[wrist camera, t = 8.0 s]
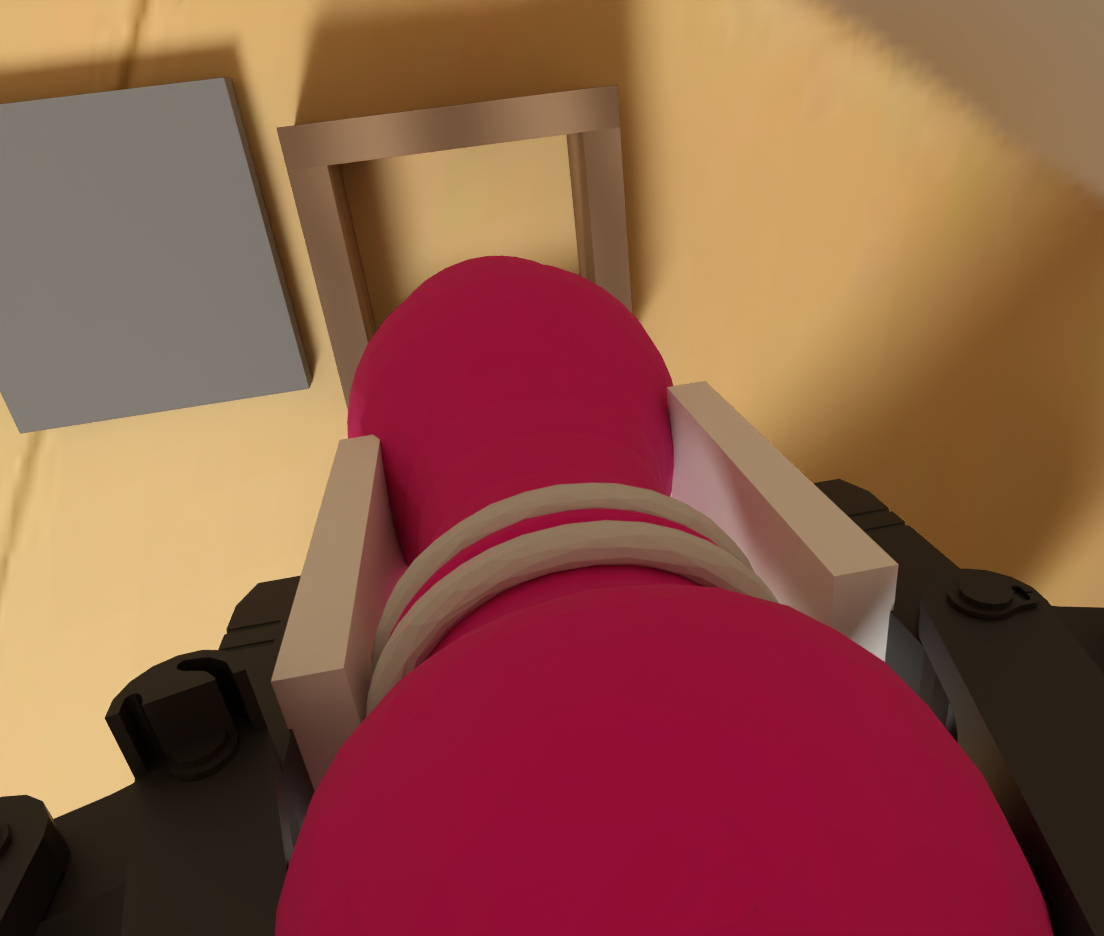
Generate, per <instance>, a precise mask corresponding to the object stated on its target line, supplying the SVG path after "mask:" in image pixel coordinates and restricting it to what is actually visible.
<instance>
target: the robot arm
mask: <svg viewBox="0 0 1104 936" xmlns="http://www.w3.org/2000/svg"><path fill="white" fill-rule="evenodd" d="M667 399H668V412H669V418H670V425H671V432H672V440H673V449H674V471H673V481H672V498H674V499H676V500H679V501H681V502H684V503H686V504H687V505H689V506H691V507H692V508H694V509H696V510H697V511H699V512H701V513H703V514H704V515H706V516H707V517H709V518H710V519H711V520H712V521H714V522H715V523H716V524H717V525H718V526H719V527H720V528H721V529H722V530H723V531H724V532H725V533H726V534H727V535H728V536H729V537H730V538H731V539H732V540H733V541H734V542H735V543H736V544H737V546H738V547H739V548H740V549H741V551H742V552H743V553H744V554H745V556H746V557H747V558H748V560H749V562H750V564H751V566H752V568H753V570H754V572H755V574H756V575H758V576H759V577H760V578H761V579H762V581H763V582H764V583H765V584H766V585H767V587H768V588H769V589H770V590H771V592H772V593H773V595H774V596H775V598H776V599H777V601H778V602H779V603H780V604H784V605H787V606H790V607H792V608H794V609H796V610H798V611H800V612H802V613H804V614H806V615H808V616H810V617H811V618H813V619H815V620H817V621H819V622H821V623H823V624H825V625H827V626H829V627H831V628H833V629H835V630H837V631H839V632H840V633H842V634H843V635H845V636H846V637H848V638H849V639H851V640H852V641H854V642H855V643H857V644H858V645H860V646H861V647H863V648H865V649H866V650H868V651H869V652H871V653H872V654H874V655H875V656H877V657H878V658H880V659H881V660H883V661H884V662H885V663H886V664H887V665H888V666H889V667H890V668H891V669H892V670H893V671H894V672H895V673H896V674H897V675H898V676H899V677H900V678H901V679H902V680H903V681H904V682H905V683H906V684H907V685H908V686H909V687H910V688H911V689H912V690H913V691H914V692H915V693H916V694H917V695H918V696H919V697H920V698H921V699H922V700H923V701H924V702H925V703H926V704H927V705H928V706H929V708H930V709H931V710H932V711H933V713H934V714H935V715H936V717H937V718H938V719H939V720H940V722H941V723H942V724H943V725H944V727H945V728H946V729H947V730H948V732H949V733H950V734H951V735H952V737H953V738H954V739H955V740H956V742H957V743H958V744H959V746H960V747H961V748H962V749H963V751H964V752H965V753H966V754H967V756H968V757H969V758H970V759H971V761H972V762H973V763H974V764H975V766H976V767H977V768H978V769H979V771H980V772H981V773H982V775H983V776H984V778H985V780H986V782H987V784H988V786H989V788H990V789H991V791H992V793H993V795H994V797H995V799H996V801H997V803H998V804H999V806H1000V808H1001V810H1002V812H1003V814H1004V816H1005V818H1006V820H1007V822H1008V824H1009V826H1010V828H1011V830H1012V832H1013V834H1014V836H1015V838H1016V840H1017V842H1018V844H1019V846H1020V848H1021V850H1022V852H1023V854H1024V856H1025V858H1026V860H1027V862H1028V864H1029V866H1030V868H1031V871H1032V873H1033V875H1034V877H1035V880H1036V882H1037V884H1038V886H1039V889H1040V891H1041V893H1042V895H1043V898H1044V900H1045V902H1046V905H1047V909H1048V913H1049V917H1050V921H1051V925H1052V929H1053V933H1054V936H1104V608H1094V607H1058V606H1051V605H1050V604H1049V602H1048V601H1047V600H1046V599H1045V598H1044V597H1043V596H1041V595H1040V594H1039V593H1038V592H1037V591H1036V590H1035V589H1034V588H1032V587H1031V586H1029V585H1027V584H1025V583H1022V582H1020V581H1018V580H1016V579H1014V578H1012V577H1010V576H1006V575H1002V574H998V573H995V572H991V571H987V570H975V569H960V568H959V567H957V566H956V565H955V564H954V563H953V562H951V561H950V560H949V559H948V558H947V557H946V556H944V555H943V554H942V553H941V552H940V551H938V550H937V549H936V548H935V547H934V546H933V545H931V544H930V543H929V542H928V541H927V540H925V539H924V538H923V537H922V536H921V535H920V534H918V533H917V532H916V531H915V530H914V529H912V528H911V527H910V526H905V522H904V521H903V520H902V519H901V518H899V517H898V516H897V515H896V514H895V513H894V512H889V510H888V507H887V506H885V505H884V504H883V503H882V502H881V501H879V500H878V499H877V498H876V497H875V496H874V495H872V494H871V493H870V492H869V491H867V490H864V489H862V488H860V487H857V486H855V485H852V484H850V483H848V482H845V481H843V480H840V479H835V480H830V481H824V482H818V483H812V482H811V481H810V480H809V479H808V478H807V477H806V476H805V475H804V474H803V473H802V472H801V471H800V470H799V469H797V468H796V467H795V466H794V465H793V464H792V463H791V462H790V461H789V460H788V459H787V458H786V457H785V456H784V455H783V454H782V453H781V452H780V451H779V450H777V449H776V448H775V447H774V446H773V445H772V444H771V443H770V442H769V441H768V440H767V439H766V438H765V437H764V436H763V435H762V434H761V433H760V432H758V431H757V430H756V429H755V428H754V427H753V426H752V425H751V424H750V423H749V422H748V421H747V420H746V419H745V418H744V417H743V416H742V415H741V414H740V413H738V412H737V411H736V410H735V409H734V408H733V407H732V406H731V405H730V404H729V403H728V402H727V401H726V400H725V399H724V398H723V397H722V396H721V395H720V394H718V393H717V392H716V391H715V390H714V389H713V388H712V387H711V386H710V385H709V384H708V383H707V382H706V381H702V382H696V383H690V384H684V385H677V386H671V387H667ZM408 568H409V567H408V565H407V564H406V563H405V560H404V557H403V554H402V551H401V548H400V545H399V542H398V539H397V536H396V532H395V527H394V522H393V518H392V513H391V509H390V503H389V497H388V491H387V485H386V480H385V474H384V467H383V461H382V452H381V444H380V439H378V438H377V437H376V436H374V435H368V436H362V437H355V438H349V439H343V440H340V441H339V444H338V448H337V451H336V455H335V458H334V462H333V465H332V469H331V472H330V476H329V479H328V483H327V486H326V490H325V493H324V497H323V500H322V504H321V507H320V511H319V514H318V518H317V521H316V525H315V528H314V532H313V535H312V539H311V542H310V546H309V549H308V553H307V556H306V560H305V563H304V567H303V570H302V574H301V576H296V577H291V578H285V579H279V580H274V581H268V582H262V583H258V584H257V585H256V586H255V587H254V588H253V589H252V590H251V591H250V592H249V593H248V594H247V595H246V596H245V597H244V598H243V599H242V600H241V601H240V602H239V603H238V604H237V605H236V607H235V610H234V612H233V615H232V617H231V620H230V622H229V625H228V627H227V634H225V635H224V637H223V640H222V642H221V645H220V647H219V650H200V651H196V652H191V653H187V654H183V655H178V656H176V657H174V658H171V659H169V660H167V661H164V662H162V663H160V664H158V665H155V666H153V667H151V668H150V669H148V670H147V671H145V672H144V673H142V674H141V675H140V676H138V677H137V678H135V679H134V680H132V681H131V682H129V683H128V684H127V686H126V687H125V688H124V689H123V690H122V691H121V692H120V693H119V694H118V695H117V696H116V697H115V698H114V699H113V701H112V703H111V705H110V707H109V710H108V712H107V714H106V716H105V720H106V722H107V724H108V726H109V728H110V730H111V732H112V734H113V736H114V737H115V739H116V741H117V743H118V745H119V747H120V749H121V751H122V753H123V755H124V757H125V759H126V761H127V763H128V765H129V767H130V769H131V771H132V773H133V775H134V777H135V782H134V783H133V784H131V785H129V786H127V787H125V788H123V789H121V790H119V791H117V792H115V793H113V794H111V795H109V796H107V797H104V798H102V799H100V800H97V801H95V802H93V803H90V804H88V805H86V806H83V807H81V808H79V809H76V810H74V811H71V812H69V813H67V814H64V815H62V816H60V817H57V818H55V819H53V818H52V816H51V815H50V813H49V811H48V809H47V808H46V806H45V804H44V803H43V801H40V800H38V799H35V798H33V797H31V796H28V795H19V796H5V797H0V936H275V926H276V911H277V907H278V903H279V900H280V896H281V893H282V889H283V885H284V882H285V878H286V874H287V871H288V867H289V863H290V859H291V856H292V853H293V850H294V847H295V844H296V842H297V839H298V836H299V833H300V830H301V827H302V824H303V822H304V819H305V816H306V813H307V810H308V807H309V804H310V802H311V799H312V796H313V794H314V792H315V790H316V789H317V787H318V785H319V783H320V782H321V780H322V778H323V776H324V775H325V773H326V771H327V770H328V768H329V766H330V764H331V763H332V761H333V759H334V757H335V756H336V754H337V752H338V750H339V749H340V747H341V745H342V744H343V743H344V742H345V741H346V739H347V738H348V737H349V736H350V735H351V734H352V733H353V732H354V730H355V729H356V728H357V727H358V726H359V725H360V724H361V723H362V721H363V720H364V719H365V718H366V705H367V697H368V692H369V688H370V684H371V681H372V662H371V656H372V651H373V646H374V641H375V636H376V631H377V628H378V625H379V623H380V620H381V617H382V614H383V611H384V609H385V606H386V603H387V601H388V599H389V597H390V596H391V594H392V592H393V590H394V588H395V586H396V584H397V582H398V581H399V580H400V578H401V577H402V576H403V574H404V573H405V572H406V570H407V569H408Z"/></svg>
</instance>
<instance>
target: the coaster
mask: <svg viewBox="0 0 1104 936" xmlns="http://www.w3.org/2000/svg"><path fill="white" fill-rule="evenodd" d="M312 381H313V380H312V376H311V372H310V369H309V365H308V361H307V357H306V354H305V350H304V346H303V343H302V339H301V335H300V332H299V328H298V324H297V321H296V317H295V313H294V309H293V306H292V302H291V298H290V295H289V291H288V287H287V284H286V280H285V276H284V273H283V269H282V265H281V261H280V258H279V254H278V250H277V247H276V243H275V239H274V236H273V232H272V228H271V224H270V221H269V217H268V213H267V210H266V206H265V202H264V199H263V195H262V191H261V188H260V184H259V180H258V176H257V173H256V169H255V165H254V162H253V158H252V154H251V151H250V147H249V143H248V140H247V136H246V132H245V128H244V125H243V121H242V117H241V114H240V110H239V106H238V103H237V99H236V95H235V92H234V88H233V84H232V80H231V79H229V78H224V77H223V78H215V79H207V80H198V81H190V82H182V83H173V84H165V85H157V86H148V87H140V88H132V89H123V90H115V91H106V92H98V93H90V94H81V95H73V96H65V97H56V98H48V99H40V100H31V101H23V102H15V103H6V104H0V392H1V394H2V396H3V398H4V400H5V402H6V405H7V407H8V409H9V411H10V413H11V415H12V417H13V419H14V422H15V424H16V426H17V428H18V430H19V432H20V433H27V432H33V431H40V430H46V429H53V428H59V427H65V426H72V425H78V424H85V423H91V422H98V421H104V420H110V419H117V418H123V417H130V416H136V415H143V414H149V413H155V412H162V411H168V410H175V409H181V408H188V407H194V406H200V405H207V404H213V403H220V402H226V401H233V400H239V399H245V398H252V397H258V396H265V395H271V394H278V393H284V392H290V391H297V390H303V389H309V388H310V385H311V383H312Z"/></svg>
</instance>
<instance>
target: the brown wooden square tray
mask: <svg viewBox="0 0 1104 936" xmlns="http://www.w3.org/2000/svg"><path fill="white" fill-rule="evenodd" d="M277 132H278V136H279V140H280V144H281V148H282V152H283V155H284V159H285V163H286V167H287V171H288V175H289V179H290V183H291V187H292V191H293V195H294V199H295V203H296V207H297V211H298V215H299V219H300V223H301V227H302V231H303V234H304V238H305V242H306V246H307V250H308V254H309V258H310V262H311V266H312V270H313V274H314V278H315V282H316V286H317V290H318V294H319V298H320V302H321V306H322V310H323V313H324V317H325V321H326V325H327V329H328V333H329V337H330V341H331V345H332V349H333V353H334V357H335V361H336V365H337V369H338V373H339V377H340V381H341V385H342V388H343V392H344V396H345V400H346V404H347V408H348V406H349V394H350V390H351V386H352V382H353V378H354V374H355V371H356V368H357V366H358V364H359V362H360V360H361V357H362V355H363V353H364V351H365V349H366V346H367V344H368V342H369V341H370V340H371V338H372V337H373V336H374V334H375V333H376V332H377V330H376V326H375V321H374V317H373V312H372V308H371V303H370V299H369V294H368V290H367V285H366V281H365V276H364V272H363V268H362V263H361V259H360V254H359V250H358V245H357V241H356V236H355V232H354V227H353V223H352V218H351V214H350V209H349V205H348V200H347V196H346V191H345V187H344V182H343V178H342V174H341V169H340V165H339V164H343V163H350V162H358V161H365V160H373V159H381V158H388V157H396V156H404V155H411V154H419V153H426V152H434V151H442V150H449V149H457V148H465V147H472V146H480V145H488V144H495V143H503V142H510V141H518V140H526V139H533V138H541V137H549V136H556V135H564V134H567V144H568V155H569V165H570V176H571V186H572V197H573V207H574V217H575V228H576V238H577V249H578V259H579V270H580V276H581V277H583V278H585V279H587V280H589V281H591V282H593V283H595V284H597V285H598V286H600V287H602V288H603V289H605V290H606V291H607V292H609V293H610V294H611V295H612V296H614V297H615V298H616V299H618V300H619V301H620V302H622V303H623V305H624V306H625V307H626V308H627V309H628V310H629V311H630V312H631V313H632V301H631V286H630V270H629V255H628V240H627V225H626V210H625V195H624V180H623V165H622V150H621V135H620V120H619V105H618V90H617V85H611V86H603V87H595V88H588V89H580V90H572V91H564V92H556V93H548V94H540V95H532V96H524V97H516V98H508V99H500V100H492V101H484V102H477V103H469V104H461V105H453V106H445V107H437V108H429V109H421V110H413V111H405V112H397V113H389V114H381V115H373V116H366V117H358V118H350V119H342V120H334V121H326V122H318V123H310V124H302V125H294V126H286V127H278V128H277Z"/></svg>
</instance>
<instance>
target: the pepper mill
mask: <svg viewBox="0 0 1104 936" xmlns="http://www.w3.org/2000/svg"><path fill="white" fill-rule="evenodd" d="M671 386H673V383H672V379H671V376H670V374H669V372H668V369H667V367H666V365H665V362H664V360H663V358H662V356H661V354H660V353H659V351H658V349H657V348H656V346H655V345H654V343H653V342H652V340H651V339H650V337H649V336H648V334H647V333H646V331H645V330H644V328H643V327H642V325H641V324H640V322H639V321H638V319H637V318H636V317H635V316H634V315H633V314H632V313H631V312H630V311H629V310H628V309H627V308H626V307H625V306H624V305H623V303H622V302H620V301H619V300H618V299H616V298H615V297H614V296H612V295H611V294H610V293H609V292H607V291H606V290H605V289H603V288H602V287H600V286H598V285H597V284H595V283H593V282H591V281H589V280H587V279H585V278H583V277H581V276H579V275H577V274H574V273H571V272H568V271H565V270H562V269H559V268H556V267H553V266H548V265H542V264H539V263H537V262H534V261H531V260H526V259H522V258H518V257H510V256H486V257H480V258H474V259H469V260H466V261H463V262H460V263H458V264H455V265H453V266H450V267H448V268H445V269H444V270H442V271H440V272H439V273H437V274H435V275H434V276H432V277H431V278H429V279H427V280H426V281H425V282H423V283H422V284H421V285H420V286H419V287H418V288H417V289H416V290H415V291H414V292H413V293H412V294H411V295H410V296H409V297H408V298H407V299H406V300H405V301H404V302H403V303H402V304H401V305H400V306H399V307H397V308H396V309H395V310H394V311H393V312H392V313H391V314H390V315H389V316H388V317H387V318H386V319H385V321H384V322H383V324H382V325H381V326H380V328H379V329H378V330H377V332H376V333H375V334H374V336H373V337H372V338H371V340H370V341H369V342H368V344H367V346H366V349H365V351H364V353H363V355H362V357H361V360H360V362H359V364H358V366H357V368H356V371H355V374H354V378H353V382H352V386H351V390H350V394H349V406H348V421H347V424H348V439H349V438H355V437H362V436H368V435H374V436H376V437H377V438H378V439H380V444H381V452H382V461H383V467H384V474H385V480H386V485H387V491H388V497H389V503H390V509H391V513H392V518H393V522H394V527H395V532H396V536H397V539H398V542H399V545H400V548H401V551H402V554H403V557H404V560H405V563H406V564H407V565H408V567H409V568H408V569H407V570H406V572H405V573H404V574H403V576H402V577H401V578H400V580H399V581H398V582H397V584H396V586H395V588H394V590H393V592H392V594H391V596H390V597H389V599H388V601H387V603H386V606H385V609H384V611H383V614H382V617H381V620H380V623H379V625H378V628H377V631H376V636H375V641H374V646H373V651H372V656H371V662H372V681H371V684H370V688H369V692H368V697H367V705H366V718H365V719H364V720H363V721H362V723H361V724H360V725H359V726H358V727H357V728H356V729H355V730H354V732H353V733H352V734H351V735H350V736H349V737H348V738H347V739H346V741H345V742H344V743H343V744H342V745H341V747H340V749H339V750H338V752H337V754H336V756H335V757H334V759H333V761H332V763H331V764H330V766H329V768H328V770H327V771H326V773H325V775H324V776H323V778H322V780H321V782H320V783H319V785H318V787H317V789H316V790H315V792H314V794H313V796H312V799H311V802H310V804H309V807H308V810H307V813H306V816H305V819H304V822H303V824H302V827H301V830H300V833H299V836H298V839H297V842H296V844H295V847H294V850H293V853H292V856H291V859H290V863H289V867H288V871H287V874H286V878H285V882H284V885H283V889H282V893H281V896H280V900H279V903H278V907H277V911H276V926H275V936H1054V933H1053V929H1052V925H1051V921H1050V917H1049V913H1048V909H1047V905H1046V902H1045V900H1044V898H1043V895H1042V893H1041V891H1040V889H1039V886H1038V884H1037V882H1036V880H1035V877H1034V875H1033V873H1032V871H1031V868H1030V866H1029V864H1028V862H1027V860H1026V858H1025V856H1024V854H1023V852H1022V850H1021V848H1020V846H1019V844H1018V842H1017V840H1016V838H1015V836H1014V834H1013V832H1012V830H1011V828H1010V826H1009V824H1008V822H1007V820H1006V818H1005V816H1004V814H1003V812H1002V810H1001V808H1000V806H999V804H998V803H997V801H996V799H995V797H994V795H993V793H992V791H991V789H990V788H989V786H988V784H987V782H986V780H985V778H984V776H983V775H982V773H981V772H980V771H979V769H978V768H977V767H976V766H975V764H974V763H973V762H972V761H971V759H970V758H969V757H968V756H967V754H966V753H965V752H964V751H963V749H962V748H961V747H960V746H959V744H958V743H957V742H956V740H955V739H954V738H953V737H952V735H951V734H950V733H949V732H948V730H947V729H946V728H945V727H944V725H943V724H942V723H941V722H940V720H939V719H938V718H937V717H936V715H935V714H934V713H933V711H932V710H931V709H930V708H929V706H928V705H927V704H926V703H925V702H924V701H923V700H922V699H921V698H920V697H919V696H918V695H917V694H916V693H915V692H914V691H913V690H912V689H911V688H910V687H909V686H908V685H907V684H906V683H905V682H904V681H903V680H902V679H901V678H900V677H899V676H898V675H897V674H896V673H895V672H894V671H893V670H892V669H891V668H890V667H889V666H888V665H887V664H886V663H885V662H884V661H883V660H881V659H880V658H878V657H877V656H875V655H874V654H872V653H871V652H869V651H868V650H866V649H865V648H863V647H861V646H860V645H858V644H857V643H855V642H854V641H852V640H851V639H849V638H848V637H846V636H845V635H843V634H842V633H840V632H839V631H837V630H835V629H833V628H831V627H829V626H827V625H825V624H823V623H821V622H819V621H817V620H815V619H813V618H811V617H810V616H808V615H806V614H804V613H802V612H800V611H798V610H796V609H794V608H792V607H790V606H787V605H784V604H780V603H779V602H778V601H777V599H776V598H775V596H774V595H773V593H772V592H771V590H770V589H769V588H768V587H767V585H766V584H765V583H764V582H763V581H762V579H761V578H760V577H759V576H758V575H756V574H755V572H754V570H753V568H752V566H751V564H750V562H749V560H748V558H747V557H746V556H745V554H744V553H743V552H742V551H741V549H740V548H739V547H738V546H737V544H736V543H735V542H734V541H733V540H732V539H731V538H730V537H729V536H728V535H727V534H726V533H725V532H724V531H723V530H722V529H721V528H720V527H719V526H718V525H717V524H716V523H715V522H714V521H712V520H711V519H710V518H709V517H707V516H706V515H704V514H703V513H701V512H699V511H697V510H696V509H694V508H692V507H691V506H689V505H687V504H686V503H684V502H681V501H679V500H676V499H674V498H671V497H670V495H671V491H672V481H673V471H674V449H673V440H672V432H671V425H670V418H669V412H668V399H667V387H671Z"/></svg>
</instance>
